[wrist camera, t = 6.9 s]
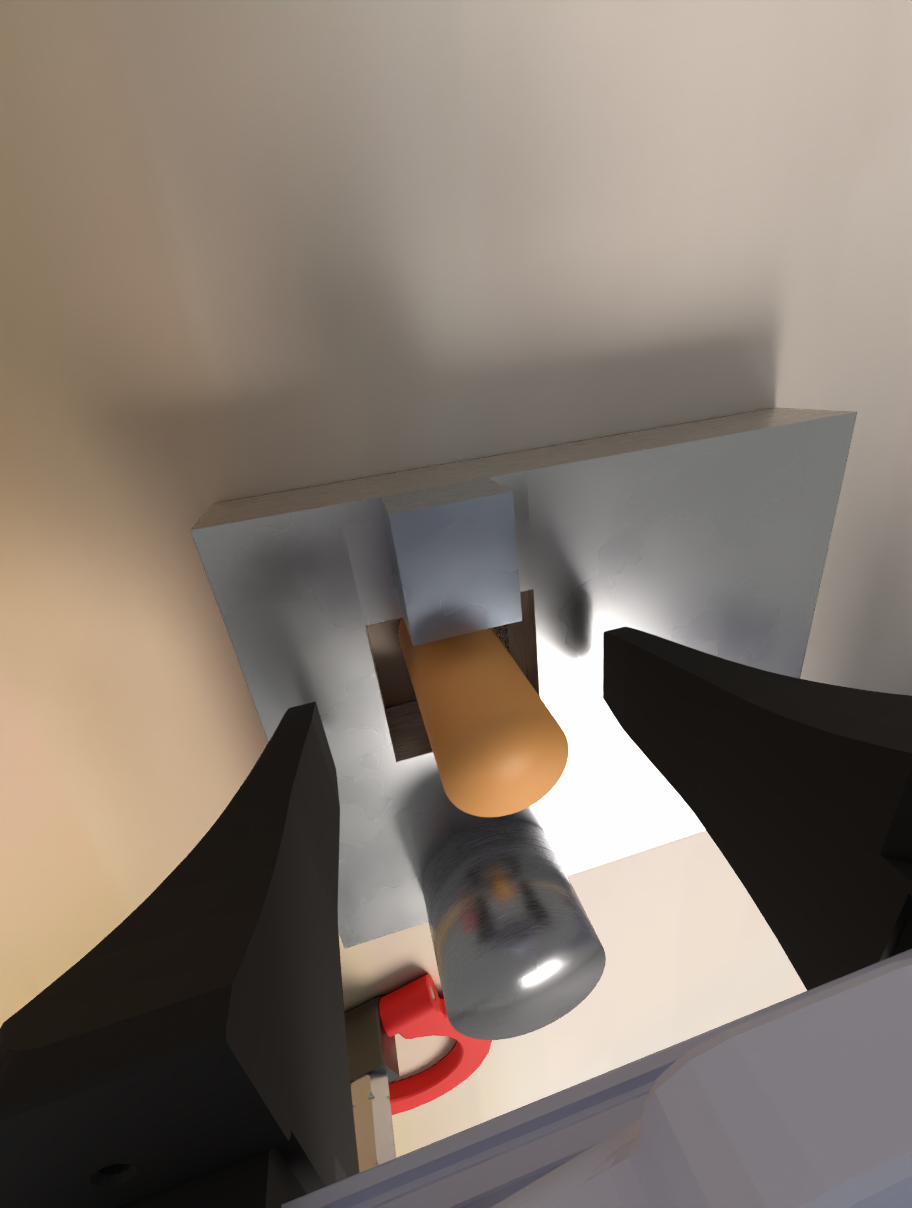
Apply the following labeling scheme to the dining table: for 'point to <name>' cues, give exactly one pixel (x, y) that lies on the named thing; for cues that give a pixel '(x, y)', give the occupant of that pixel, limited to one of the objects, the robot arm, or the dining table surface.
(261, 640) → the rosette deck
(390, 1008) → the tow hook
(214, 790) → the dining table surface
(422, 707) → the orange rounded capsule
